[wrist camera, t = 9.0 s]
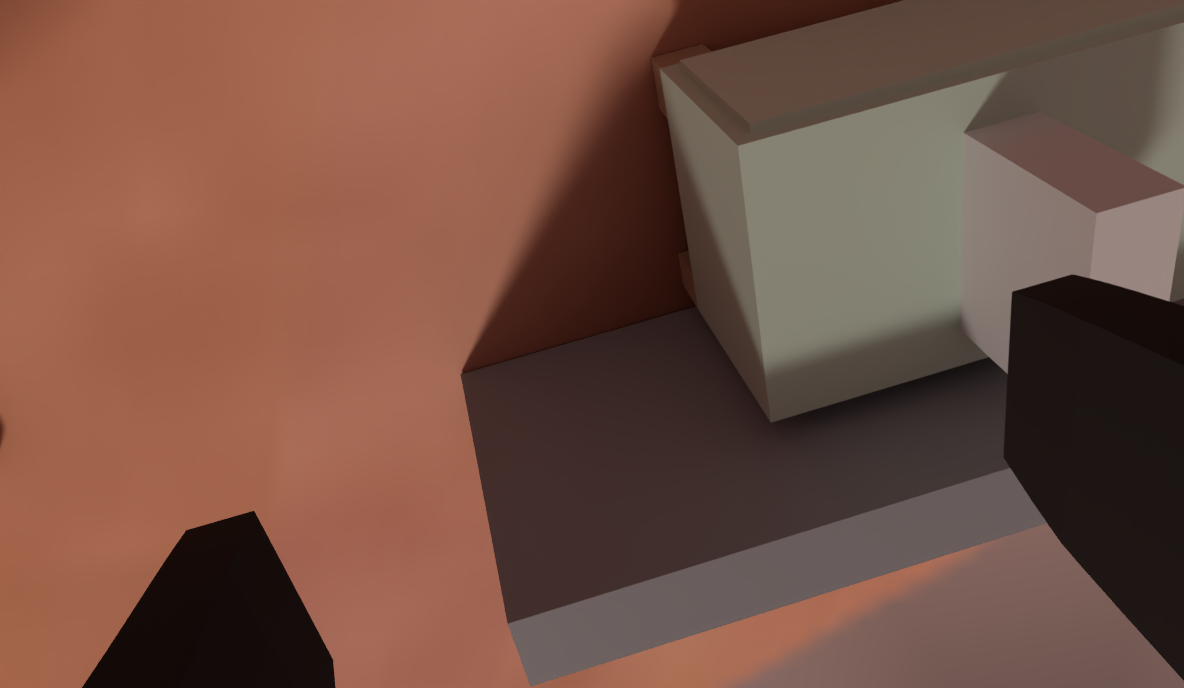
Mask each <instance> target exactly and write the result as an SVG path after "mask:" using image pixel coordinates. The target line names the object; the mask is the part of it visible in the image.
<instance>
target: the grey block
mask: <svg viewBox="0 0 1184 688" xmlns="http://www.w3.org/2000/svg"><path fill="white" fill-rule="evenodd" d="M651 62H652V68H653V74H654V80H655V86H656V92H657V99H658V105H659V110H660V111H661V112H662V113H663V114H664V115H665V117H666V118H667V119H668V124H669V130H670V137H671V143H672V149H673V155H674V162H675V168H676V174H677V181H678V187H679V193H680V199H681V206H682V212H683V218H684V225H685V231H686V237H687V243H688V251H685V252H681V253H678V257H679V263H680V269H681V275H682V281H683V286H684V288H685V290H686V291H687V293H688V294H689V296H690V297H691V299H692V300H693V302H694V304H695V305H696V307H697V308H698V310H699V311H700V313H701V314H702V316H703V318H704V319H705V321H706V322H707V324H708V325H709V327H710V329H711V330H712V332H713V333H714V335H715V336H716V338H717V339H718V341H719V343H720V344H721V346H722V347H723V349H724V350H725V352H726V353H727V355H728V357H729V358H730V360H731V361H732V363H733V364H734V366H735V368H736V369H737V371H738V372H739V374H740V375H741V377H742V378H743V380H744V382H745V383H746V385H747V386H748V388H749V389H750V391H751V393H752V394H753V396H754V397H755V399H756V400H757V402H758V403H759V405H760V407H761V408H762V410H763V411H764V413H765V414H766V416H767V417H768V419H769V421H770V422H771V423H772V422H775V421H778V420H782V419H785V418H788V417H792V416H795V415H798V414H802V413H805V412H808V411H812V410H815V409H818V408H821V407H825V406H828V405H831V404H835V403H838V402H841V401H845V400H848V399H851V398H855V397H858V396H861V395H865V394H868V393H871V392H875V391H878V390H881V389H885V388H888V387H891V386H895V385H898V384H901V383H905V382H908V381H911V380H915V379H918V378H921V377H925V376H928V375H931V374H934V373H938V372H941V371H944V370H948V369H951V368H954V367H958V366H961V365H964V364H968V363H971V362H974V361H978V360H981V359H984V358H988V357H990V358H991V359H992V360H993V361H994V362H995V363H996V364H997V365H998V366H999V367H1001V368H1002V369H1003V370H1004V371H1005V372H1006V373H1007V374H1008V357H1009V338H1010V318H1011V299H1012V292H1013V291H1016V290H1020V289H1023V288H1027V287H1030V286H1034V285H1037V284H1040V283H1044V282H1047V281H1051V280H1054V279H1058V278H1061V277H1065V276H1068V275H1072V274H1073V275H1078V276H1082V277H1086V278H1090V279H1094V280H1099V281H1102V282H1106V283H1110V284H1113V285H1117V286H1120V287H1124V288H1127V289H1130V290H1134V291H1137V292H1140V293H1144V294H1147V295H1150V296H1153V297H1157V298H1160V299H1163V300H1166V301H1170V302H1174V301H1177V300H1180V299H1184V0H903V1H899V2H895V3H892V4H888V5H884V6H880V7H877V8H873V9H869V10H865V11H862V12H858V13H854V14H851V15H847V16H843V17H839V18H836V19H832V20H828V21H824V22H821V23H817V24H813V25H810V26H806V27H802V28H798V29H795V30H791V31H787V32H783V33H780V34H776V35H772V36H769V37H765V38H761V39H757V40H754V41H750V42H746V43H742V44H739V45H735V46H731V47H728V48H724V49H720V50H716V51H713V52H712V51H711V50H710V49H708V48H707V47H706V46H705V45H703V44H701V45H697V46H693V47H689V48H686V49H682V50H678V51H674V52H671V53H667V54H663V55H660V56H656V57H652V58H651Z"/></svg>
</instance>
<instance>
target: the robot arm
mask: <svg viewBox="0 0 1184 688" xmlns="http://www.w3.org/2000/svg"><path fill="white" fill-rule="evenodd" d="M1003 458H1004V459H1005V461H1006V462H1007V464H1008V465H1009V467H1010V468H1011V470H1012V471H1013V473H1014V474H1015V476H1016V478H1017V479H1018V481H1019V482H1020V484H1021V485H1022V487H1023V488H1024V490H1025V491H1026V493H1027V494H1028V496H1029V497H1030V499H1031V500H1032V502H1033V504H1034V505H1035V506H1036V508H1037V509H1038V511H1039V512H1040V513H1041V515H1042V516H1043V518H1044V519H1045V521H1046V522H1047V523H1048V525H1049V526H1050V528H1051V529H1052V530H1053V532H1054V533H1055V535H1056V536H1057V538H1058V539H1059V540H1060V542H1061V543H1062V544H1063V545H1064V547H1065V548H1066V549H1067V550H1068V551H1069V552H1070V553H1071V555H1072V556H1073V557H1074V558H1075V559H1076V561H1077V562H1078V563H1079V564H1080V565H1081V566H1082V567H1083V569H1084V570H1085V571H1086V572H1087V573H1088V574H1089V575H1090V576H1091V577H1092V579H1093V580H1094V581H1095V582H1096V583H1097V584H1098V585H1099V587H1100V588H1101V589H1102V590H1103V591H1104V592H1105V593H1106V595H1107V596H1108V597H1109V598H1110V599H1111V600H1112V601H1113V602H1114V603H1115V605H1116V606H1117V607H1118V608H1119V609H1120V610H1121V611H1122V613H1123V614H1124V615H1125V616H1126V617H1127V618H1128V619H1129V620H1130V621H1131V622H1132V624H1133V625H1134V626H1135V627H1136V628H1137V629H1138V630H1139V631H1140V632H1141V634H1142V635H1143V636H1144V637H1145V638H1146V639H1147V640H1148V641H1149V642H1150V644H1151V645H1152V646H1153V647H1154V648H1155V649H1156V650H1157V651H1158V652H1159V653H1160V655H1161V656H1162V657H1163V658H1164V659H1165V660H1166V661H1167V662H1168V664H1169V665H1170V666H1171V667H1172V668H1173V669H1174V670H1175V671H1176V672H1177V674H1178V675H1179V676H1180V677H1181V678H1182V679H1183V680H1184V306H1182V305H1179V304H1176V303H1173V302H1170V301H1166V300H1163V299H1160V298H1157V297H1153V296H1150V295H1147V294H1144V293H1140V292H1137V291H1134V290H1130V289H1127V288H1124V287H1120V286H1117V285H1113V284H1110V283H1106V282H1102V281H1099V280H1094V279H1090V278H1086V277H1082V276H1078V275H1073V274H1072V275H1068V276H1065V277H1061V278H1058V279H1054V280H1051V281H1047V282H1044V283H1040V284H1037V285H1034V286H1030V287H1027V288H1023V289H1020V290H1016V291H1013V292H1012V299H1011V318H1010V338H1009V357H1008V377H1007V396H1006V415H1005V435H1004V454H1003ZM82 688H335V678H334V667H333V659H332V657H331V655H330V653H329V651H328V649H327V648H326V646H325V644H324V642H323V640H322V638H321V636H320V634H319V632H318V631H317V629H316V627H315V625H314V623H313V621H312V619H311V617H310V615H309V614H308V612H307V610H306V608H305V606H304V604H303V602H302V600H301V598H300V597H299V595H298V593H297V591H296V589H295V587H294V585H293V583H292V581H291V580H290V578H289V576H288V574H287V572H286V570H285V568H284V566H283V564H282V563H281V561H280V559H279V557H278V555H277V553H276V551H275V549H274V547H273V546H272V544H271V542H270V540H269V538H268V536H267V534H266V532H265V530H264V529H263V527H262V525H261V523H260V521H259V519H258V517H257V515H256V513H255V512H254V511H252V512H248V513H245V514H241V515H238V516H234V517H231V518H227V519H224V520H221V521H217V522H214V523H210V524H207V525H203V526H200V527H196V528H193V529H189V530H186V532H185V533H184V534H183V536H182V537H181V539H180V540H179V542H178V543H177V544H176V546H175V547H174V549H173V550H172V552H171V553H170V555H169V556H168V557H167V559H166V560H165V562H164V564H163V565H162V567H161V568H160V570H159V571H158V573H157V574H156V576H155V577H154V579H153V580H152V582H151V583H150V585H149V586H148V588H147V590H146V591H145V593H144V594H143V596H142V597H141V599H140V600H139V602H138V603H137V605H136V607H135V608H134V610H133V611H132V613H131V614H130V616H129V617H128V619H127V620H126V622H125V624H124V625H123V627H122V628H121V630H120V631H119V633H118V634H117V636H116V637H115V639H114V640H113V642H112V644H111V645H110V647H109V648H108V650H107V651H106V653H105V654H104V656H103V657H102V659H101V660H100V662H99V663H98V665H97V666H96V668H95V669H94V671H93V672H92V674H91V675H90V677H89V678H88V680H87V681H86V683H85V684H84V686H83V687H82Z"/></svg>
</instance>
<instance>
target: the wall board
mask: <svg viewBox="0 0 1184 688" xmlns="http://www.w3.org/2000/svg"><path fill="white" fill-rule="evenodd" d="M1173 303H1176V304H1179V305H1182V306H1184V299H1180V300H1177V301H1174V302H1173ZM1007 377H1008V374H1007V373H1006V372H1005V371H1004V370H1003V369H1002V368H1001V367H999V366H998V365H997V364H996V363H995V362H994V361H993V360H992V359H991V358H990V357H988V358H984V359H981V360H978V361H974V362H971V363H968V364H964V365H961V366H958V367H954V368H951V369H948V370H944V371H941V372H938V373H934V374H931V375H928V376H925V377H921V378H918V379H915V380H911V381H908V382H905V383H901V384H898V385H895V386H891V387H888V388H885V389H881V390H878V391H875V392H871V393H868V394H865V395H861V396H858V397H855V398H851V399H848V400H845V401H841V402H838V403H835V404H831V405H828V406H825V407H821V408H818V409H815V410H812V411H808V412H805V413H802V414H798V415H795V416H792V417H788V418H785V419H782V420H778V421H775V422H772V423H771V422H770V421H769V419H768V417H767V416H766V414H765V413H764V411H763V410H762V408H761V407H760V405H759V403H758V402H757V400H756V399H755V397H754V396H753V394H752V393H751V391H750V389H749V388H748V386H747V385H746V383H745V382H744V380H743V378H742V377H741V375H740V374H739V372H738V371H737V369H736V368H735V366H734V364H733V363H732V361H731V360H730V358H729V357H728V355H727V353H726V352H725V350H724V349H723V347H722V346H721V344H720V343H719V341H718V339H717V338H716V336H715V335H714V333H713V332H712V330H711V329H710V327H709V325H708V324H707V322H706V321H705V319H704V318H703V316H702V314H701V313H700V311H699V310H698V308H697V307H696V306H695V307H692V308H688V309H685V310H681V311H678V312H675V313H671V314H668V315H664V316H661V317H657V318H654V319H650V320H647V321H643V322H640V323H636V324H633V325H630V326H626V327H623V328H619V329H616V330H612V331H609V332H605V333H602V334H598V335H595V336H591V337H588V338H585V339H581V340H578V341H574V342H571V343H567V344H564V345H560V346H557V347H553V348H550V349H546V350H543V351H539V352H536V353H533V354H529V355H526V356H522V357H519V358H515V359H512V360H508V361H505V362H501V363H498V364H494V365H491V366H488V367H484V368H481V369H477V370H474V371H470V372H467V373H463V374H461V378H462V383H463V389H464V394H465V399H466V405H467V410H468V415H469V421H470V426H471V431H472V436H473V442H474V447H475V452H476V458H477V463H478V468H479V474H480V479H481V484H482V490H483V495H484V500H485V505H486V511H487V516H488V521H489V527H490V532H491V537H492V543H493V548H494V553H495V558H496V564H497V569H498V574H499V580H500V585H501V590H502V596H503V601H504V606H505V611H506V617H507V622H508V626H509V628H510V631H511V634H512V637H513V639H514V642H515V645H516V648H517V650H518V653H519V656H520V659H521V661H522V664H523V667H524V670H525V672H526V675H527V678H528V681H529V683H530V686H534V685H537V684H540V683H543V682H546V681H549V680H553V679H556V678H559V677H562V676H565V675H568V674H571V673H575V672H578V671H581V670H584V669H587V668H590V667H594V666H597V665H600V664H603V663H606V662H609V661H613V660H616V659H619V658H622V657H625V656H628V655H632V654H635V653H638V652H641V651H644V650H647V649H651V648H654V647H657V646H660V645H663V644H666V643H669V642H673V641H676V640H679V639H682V638H685V637H688V636H692V635H695V634H698V633H701V632H704V631H707V630H711V629H714V628H717V627H720V626H723V625H726V624H730V623H733V622H736V621H739V620H742V619H745V618H749V617H752V616H755V615H758V614H761V613H764V612H767V611H771V610H774V609H777V608H780V607H783V606H786V605H790V604H793V603H796V602H799V601H802V600H805V599H809V598H812V597H815V596H818V595H821V594H824V593H828V592H831V591H834V590H837V589H840V588H843V587H847V586H850V585H853V584H856V583H859V582H862V581H865V580H869V579H872V578H875V577H878V576H881V575H884V574H888V573H891V572H894V571H897V570H900V569H903V568H907V567H910V566H913V565H916V564H919V563H922V562H926V561H929V560H932V559H935V558H938V557H941V556H944V555H948V554H951V553H954V552H957V551H960V550H963V549H967V548H970V547H973V546H976V545H979V544H982V543H986V542H989V541H992V540H995V539H998V538H1001V537H1005V536H1008V535H1011V534H1014V533H1017V532H1020V531H1024V530H1027V529H1030V528H1033V527H1036V526H1039V525H1042V524H1046V523H1047V522H1046V521H1045V519H1044V518H1043V516H1042V515H1041V513H1040V512H1039V511H1038V509H1037V508H1036V506H1035V505H1034V504H1033V502H1032V500H1031V499H1030V497H1029V496H1028V494H1027V493H1026V491H1025V490H1024V488H1023V487H1022V485H1021V484H1020V482H1019V481H1018V479H1017V478H1016V476H1015V474H1014V473H1013V471H1012V470H1011V468H1010V467H1009V465H1008V464H1007V462H1006V461H1005V459H1004V458H1003V454H1004V435H1005V415H1006V396H1007Z"/></svg>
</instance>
